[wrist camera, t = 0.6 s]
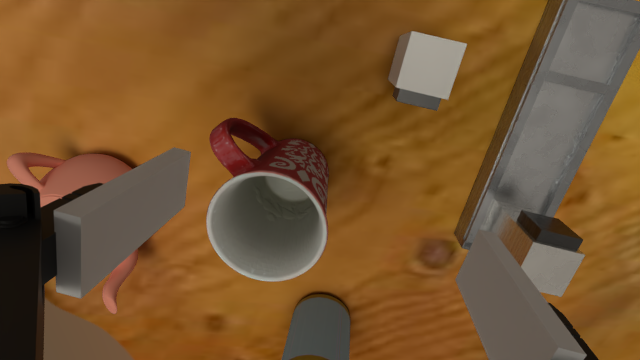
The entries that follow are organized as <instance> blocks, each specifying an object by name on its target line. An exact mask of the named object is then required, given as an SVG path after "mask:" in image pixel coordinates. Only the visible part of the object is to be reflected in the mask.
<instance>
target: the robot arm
mask: <svg viewBox="0 0 640 360" xmlns="http://www.w3.org/2000/svg"><path fill="white" fill-rule="evenodd" d="M190 155H191V152H189V151H186V150H182V149H178V148H172V149H170V150H168V151H166V152H165V153H163V154H161V155H159V156H157V157H155V158H153V159H151V160H149V161H147V162H145V163H143V164H142V165H140V166H138V167H136V168H134V169H132V170H130V171H128V172H126V173H124V174H122V175H120V176H118V177H117V178H115V179H113V180H111V181H109V182H107V183H105V184H103V183H96V184H91V185H87V186H83V187H81V188H79V189H77V190H75V191H73V192H72V193H69V194H67V195H65V196H63V197H62V199H61V198H59V199H57V200H55V201H53V202H51V203H49V204H47V205H45V206H43V207H41V205H40V192H39V190H38V189H36V188H35V187H33V186H29V185H24V184H11V183H10V184H0V360H43V350H44V301H45V289H44V284H45V283H47V282H48V281H49V280H51V279H52V278H53V277H55V276H56V292H59V293H62V294H66V295H70V296H73V297H77V298H82V297H83V296H85V295H86V294H87V293H88V292H89V291H90V290H91V289H92V288H94V287H95V286H96V285H97V284H98V283H99V282H100V281H101V280H103V279H104V278H105V277H106V276H107V275H108V274H109V273H110V272H112V271H113V270H114V269H115V268H116V267H117V266H118V265H119V264H121V263H122V262H123V261H124V260H125V259H126V258H127V257H128V256H130V255H131V254H132V253H133V252H134V251H135V250H136V249H137V248H139V247H140V246H141V245H142V244H143V243H144V242H145V241H146V240H147V239H149V238H150V237H151V236H152V235H153V234H154V233H155V232H156V231H158V230H159V229H160V228H161V227H162V226H163V225H164V224H165V223H167V222H168V221H169V220H170V219H171V218H172V217H173V216H174V215H176V214H177V213H178V212H179V211H180V210H181V209H182V208H183V207H184V206H185V198H186V189H187V180H188V172H189V163H190ZM456 282H457V285H458V287H459V289H460V292H461V294H462V297H463V299H464V301H465V304H466V306H467V308H468V311H469V313H470V316H471V318H472V320H473V323H474V325H475V327H476V330H477V332H478V335H479V337H480V339H481V342H482V344H483V346H484V349H485V351H486V354H487V356H488V358H489V360H598V358H597V357H596V356H595V354H594V353H593V352H592V351H591V349H590V348H589V347H588V345H587V344H586V343H585V342H584V340H583V339H582V338H580V335H579V334H578V333H577V331H576V330H575V329H573V326H572V325H571V323H570V322H569V321H568V320H567V318H566V317H565V316H564V315H563V314H562V313H561V312H560V311H559V310H558V309H556V308H555V307H554V306H553V305H552V304H551V303H547V301H546V300H545V299H544V297H543V296H542V295H541V293H540V292H539V291H538V289H537V288H536V287H535V285H534V284H533V283H532V281H531V280H530V279H529V277H528V276H527V275H526V273H525V272H524V271H523V269H522V268H521V267H520V265H519V264H518V263H517V261H516V260H515V259H514V257H513V256H512V254H511V253H510V252H509V250H508V249H507V248H506V246H505V245H504V244H503V242H502V241H501V240H500V238H499V237H498V236H497V234H495V233H491V232H488V231H484V230H480V229H479V230H478V232H477V234H476V237H475V239H474V241H473V243H472V245H471V247H470V249H469V252H468V254H467V256H466V258H465V260H464V262H463V265H462V267H461V269H460V271H459V273H458V275H457V278H456Z"/></svg>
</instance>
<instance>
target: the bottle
mask: <svg viewBox="0 0 640 360" xmlns="http://www.w3.org/2000/svg"><path fill="white" fill-rule="evenodd" d="M349 345H350V315H349V311H348V309H347V308H346V307H345V305H344V304H343V303H342V302H341V301H339V300H338V299H336V298H334V297H332V296H329V295H323V294H316V295H310V296H308V297H306V298H304V299H302V300H301V301H300V302H299V303H298V304H297V306H296V308H295V310H294V313H293V317H292V321H291V325H290V329H289V333H288V337H287V341H286V345H285V349H284V353H283V357H282V360H349Z"/></svg>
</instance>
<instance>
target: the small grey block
mask: <svg viewBox="0 0 640 360" xmlns="http://www.w3.org/2000/svg"><path fill="white" fill-rule="evenodd" d="M466 46H467V44H466V43H461V42H457V41H453V40H448V39H444V38H440V37H436V36H431V35H427V34H423V33H419V32H414V31H411V32H408V33H406V34H403V35H400V37H399V41H398V45H397V48H396V52H395V55H394V59H393V63H392V66H391V70H390V73H389V77H388V80H389V81H390V82H391V83H392V84H393V85H394V86H395V88H394V92H393V95H392V96H393V97H394V98H395V100H396V101H398V102H402V103H407V104H411V105H415V106H419V107H423V108H428V109H432V110H436V111H437V110H438V107H439V104H440V101H441V98H442V99H447V100H448V98H449V95H450V92H451V89H452V86H453V83H454V80H455V78H456V75H457V72H458V69H459V66H460V63H461V60H462V57H463V54H464V51H465V49H466Z"/></svg>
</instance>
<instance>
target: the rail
mask: <svg viewBox="0 0 640 360" xmlns="http://www.w3.org/2000/svg"><path fill="white" fill-rule="evenodd" d="M639 49H640V2H639V1H635V0H549V1H548V4H547V6H546V9H545V11H544V14H543V16H542V19H541V21H540V23H539V26H538V28H537V31H536V33H535V36H534V38H533V41H532V43H531V46H530V48H529V51H528V53H527V55H526V58H525V60H524V63H523V65H522V68H521V70H520V73H519V75H518V78H517V80H516V83H515V85H514V88H513V90H512V92H511V95H510V97H509V100H508V102H507V105H506V107H505V110H504V112H503V115H502V117H501V120H500V122H499V124H498V127H497V129H496V132H495V134H494V137H493V139H492V142H491V144H490V147H489V149H488V152H487V154H486V156H485V159H484V161H483V164H482V166H481V169H480V171H479V174H478V176H477V179H476V181H475V184H474V186H473V188H472V191H471V193H470V196H469V198H468V201H467V203H466V206H465V208H464V211H463V213H462V216H461V218H460V220H459V223H458V225H457V228H456V230H455V233H454V234H455V236H456V238H457V240H458V241H459V243H460V245H461V247H462V248H464V249H468V250H469V249H470V247H471V245H472V243H473V241H474V239H475V237H476V234H477V232H478V230H479V229H480V230H484V231H488V232H491V233H495V234H497V236H498V237H499V238H500V240H501V241H502V242H503V244H504V245H505V246H506V248H507V249H508V250H509V252H510V253H511V254H512V256H513V257H514V259H515V260H516V261H517V263H518V264H519V265H520V267H521V268H522V269H523V271H524V272H525V273H526V275H527V276H528V277H529V279H530V280H531V281H532V283H533V284H534V285H535V287H536V288H537V289H538V291H540V292H544V293H548V294H552V295H556V296H560V297H561V296H562V295H563V293H564V291H565V290H566V288H567V286H568V284H569V283H570V281H571V279H572V277H573V276H574V274H575V272H576V270H577V269H578V267H579V265H580V263H581V262H582V260H583V258H584V256H585V254H584V253H583V252H581V251H580V250H579V249H578V248H579V246H580V245H581V243H582V241H583V239H582V238H581V237H579V236H578V235H577V234H576V233H575V232H573V231H572V230H571V229H570V228H569V227H567V226H566V225H565V224H564V223H563V222H561V221H560V220H559V219H557V218H553V217H554V215H555V213H556V211H557V209H558V207H559V205H560V203H561V201H562V199H563V197H564V195H565V193H566V191H567V189H568V188H569V186H570V184H571V182H572V180H573V178H574V176H575V174H576V172H577V170H578V168H579V166H580V164H581V162H582V160H583V158H584V156H585V154H586V152H587V150H588V148H589V146H590V144H591V143H592V141H593V139H594V137H595V135H596V133H597V131H598V129H599V127H600V125H601V123H602V121H603V119H604V117H605V115H606V113H607V111H608V109H609V107H610V105H611V103H612V101H613V99H614V98H615V96H616V94H617V92H618V90H619V88H620V86H621V84H622V82H623V80H624V78H625V76H626V74H627V72H628V70H629V68H630V66H631V64H632V62H633V60H634V58H635V56H636V54H637V53H638V51H639Z"/></svg>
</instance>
